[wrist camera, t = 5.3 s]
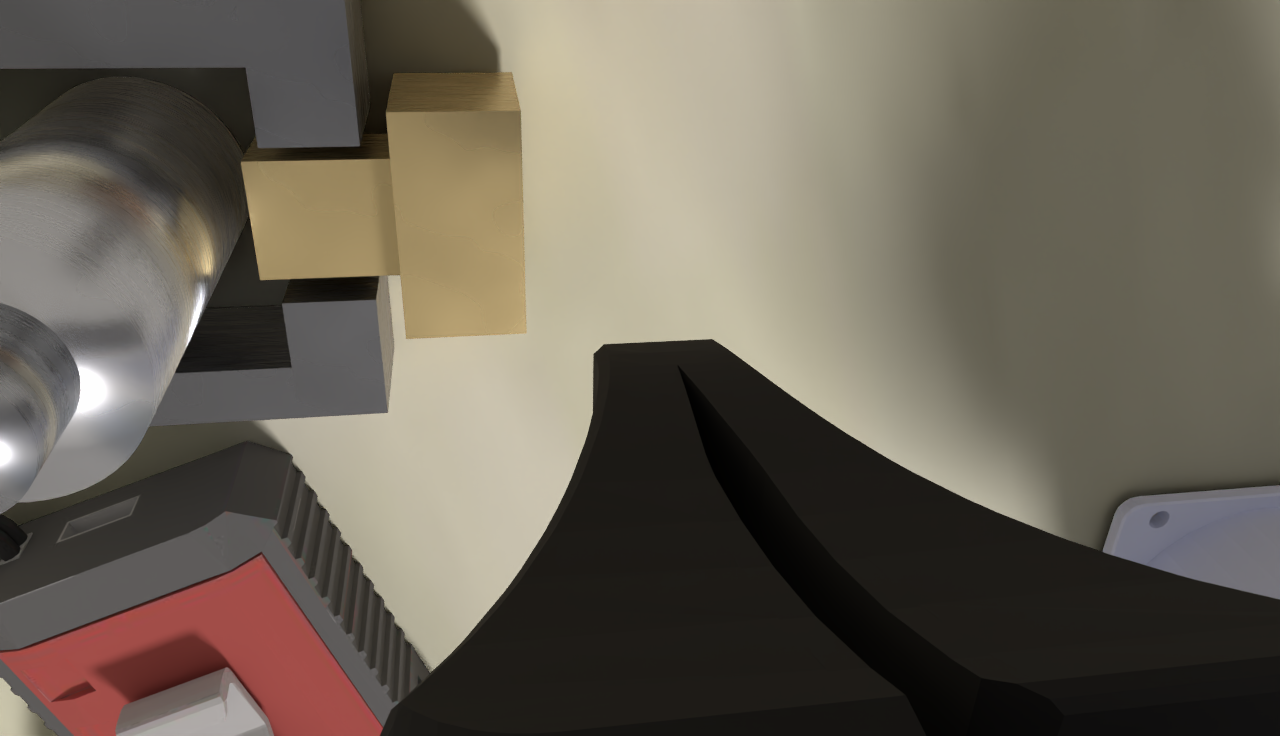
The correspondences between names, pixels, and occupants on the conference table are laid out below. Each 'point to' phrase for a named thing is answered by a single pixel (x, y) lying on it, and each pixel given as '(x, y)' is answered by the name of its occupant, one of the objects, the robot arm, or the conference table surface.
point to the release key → (408, 205)
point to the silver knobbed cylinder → (104, 272)
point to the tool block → (283, 118)
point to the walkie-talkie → (199, 610)
